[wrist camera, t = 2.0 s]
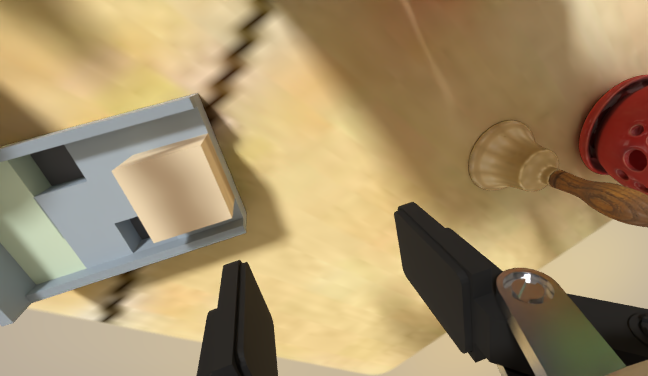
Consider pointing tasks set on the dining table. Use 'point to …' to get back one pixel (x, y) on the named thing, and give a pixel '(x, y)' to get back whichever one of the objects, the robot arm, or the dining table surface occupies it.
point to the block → (177, 187)
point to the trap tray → (90, 204)
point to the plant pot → (619, 134)
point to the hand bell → (546, 173)
